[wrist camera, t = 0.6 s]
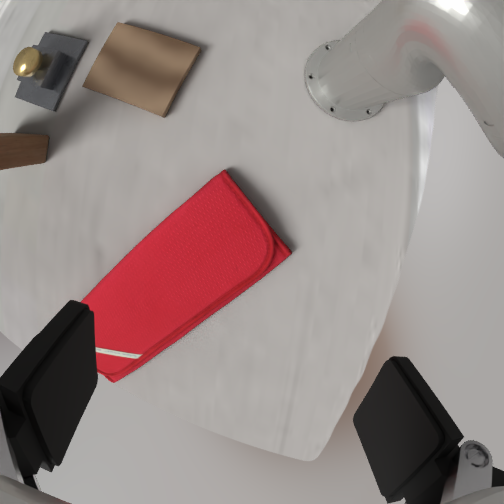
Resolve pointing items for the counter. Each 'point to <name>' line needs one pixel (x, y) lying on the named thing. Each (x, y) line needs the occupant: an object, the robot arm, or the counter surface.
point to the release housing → (51, 70)
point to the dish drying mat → (181, 276)
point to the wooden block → (22, 149)
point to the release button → (27, 62)
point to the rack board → (142, 68)
